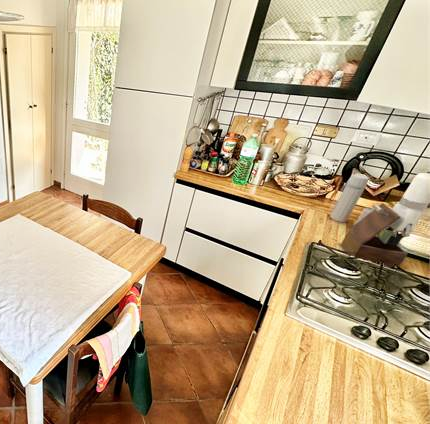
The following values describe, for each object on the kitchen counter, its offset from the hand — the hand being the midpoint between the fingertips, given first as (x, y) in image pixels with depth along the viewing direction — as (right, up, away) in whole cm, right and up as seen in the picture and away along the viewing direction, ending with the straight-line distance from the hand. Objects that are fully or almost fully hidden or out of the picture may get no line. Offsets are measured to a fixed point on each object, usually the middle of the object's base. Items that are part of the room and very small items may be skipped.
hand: (388, 241), depth 131 cm
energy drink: (+13, +3, +25) cm, 29 cm away
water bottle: (+10, +9, +36) cm, 38 cm away
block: (0, 0, 0) cm, 0 cm away
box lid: (-7, +7, -1) cm, 10 cm away
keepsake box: (-3, -7, +5) cm, 10 cm away
